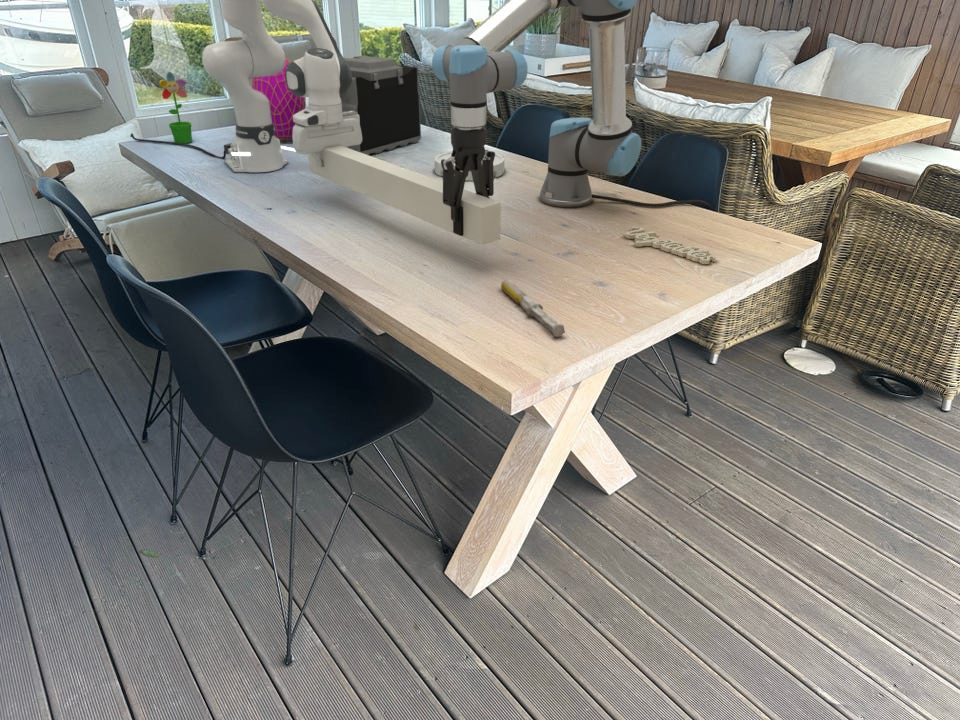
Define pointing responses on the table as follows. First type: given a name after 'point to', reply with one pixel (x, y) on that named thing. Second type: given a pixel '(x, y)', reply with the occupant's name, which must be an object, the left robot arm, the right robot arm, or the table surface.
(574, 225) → the table surface
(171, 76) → the potted flower
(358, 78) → the cooler box
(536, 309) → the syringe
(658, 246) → the decorative sign
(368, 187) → the post
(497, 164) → the ashtray
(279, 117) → the decorative egg
